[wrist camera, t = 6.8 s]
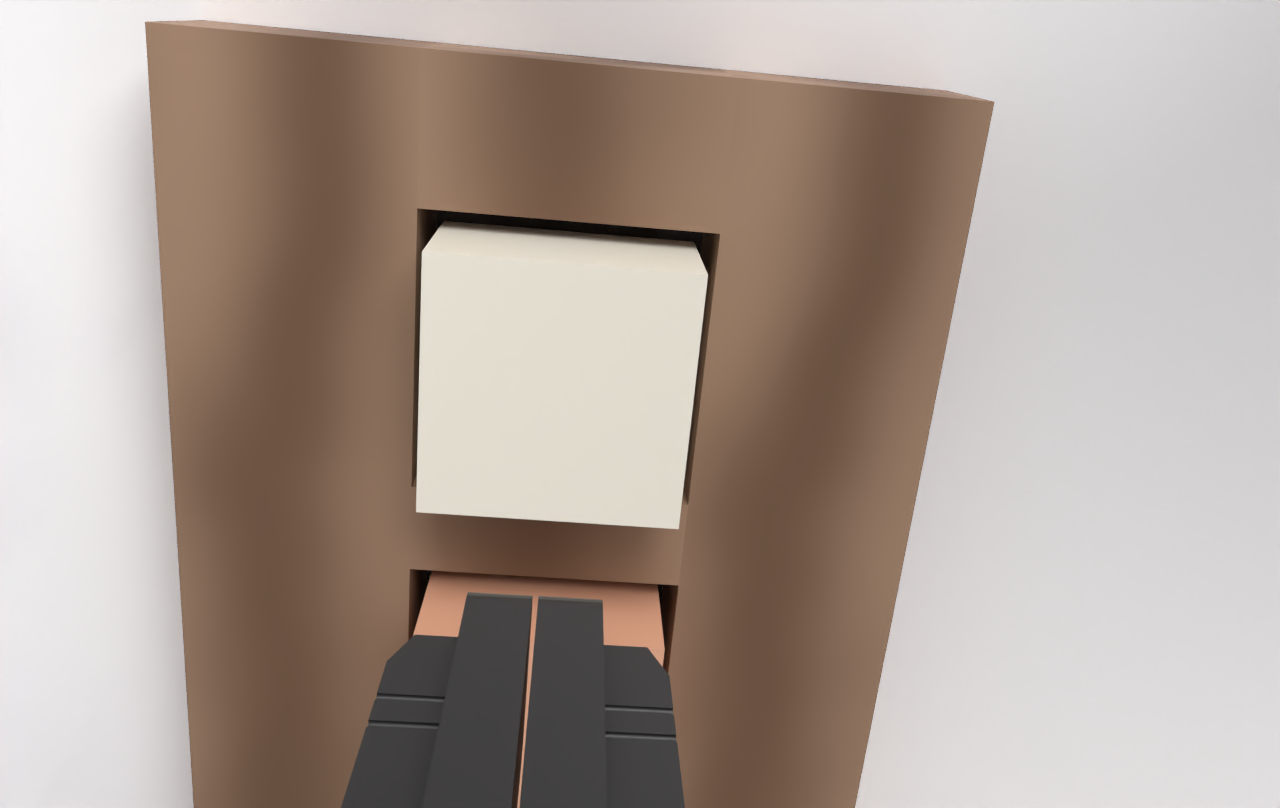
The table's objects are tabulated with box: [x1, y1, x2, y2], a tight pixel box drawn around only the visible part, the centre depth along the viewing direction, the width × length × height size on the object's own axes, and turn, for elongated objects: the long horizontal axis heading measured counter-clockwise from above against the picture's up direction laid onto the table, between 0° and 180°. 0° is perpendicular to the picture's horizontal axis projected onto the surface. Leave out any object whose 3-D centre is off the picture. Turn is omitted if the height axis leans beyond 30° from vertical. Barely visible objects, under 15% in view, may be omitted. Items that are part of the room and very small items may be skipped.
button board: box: [145, 20, 994, 808], centre depth 26 cm, size 16×28×3 cm, turn 175°
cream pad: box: [416, 221, 708, 529], centre depth 22 cm, size 5×5×3 cm
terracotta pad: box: [413, 570, 665, 808], centre depth 24 cm, size 5×5×3 cm
